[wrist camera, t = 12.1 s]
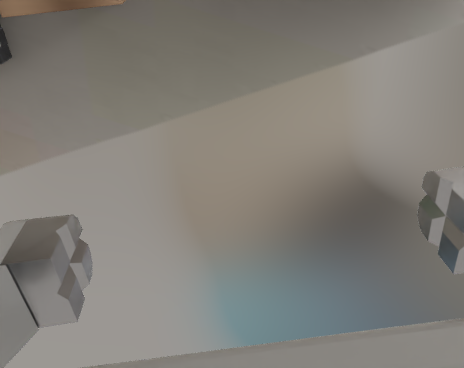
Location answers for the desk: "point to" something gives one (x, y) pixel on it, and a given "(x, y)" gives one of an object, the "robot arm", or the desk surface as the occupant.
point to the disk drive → (4, 48)
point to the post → (48, 6)
